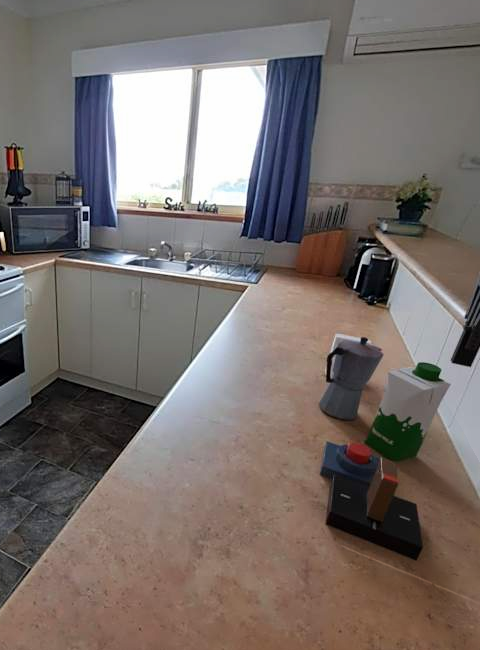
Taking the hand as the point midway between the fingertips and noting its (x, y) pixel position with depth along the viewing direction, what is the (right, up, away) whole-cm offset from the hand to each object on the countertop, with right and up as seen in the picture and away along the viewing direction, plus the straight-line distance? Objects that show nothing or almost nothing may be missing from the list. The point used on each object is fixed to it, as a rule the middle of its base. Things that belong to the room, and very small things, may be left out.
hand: (460, 363), depth 70 cm
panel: (-18, -27, -2) cm, 32 cm away
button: (-14, -19, +7) cm, 25 cm away
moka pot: (-7, -14, +29) cm, 32 cm away
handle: (-18, -24, -4) cm, 30 cm away
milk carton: (-2, -20, +16) cm, 25 cm away
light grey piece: (+4, -6, +46) cm, 47 cm away
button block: (-14, -22, +9) cm, 28 cm away
